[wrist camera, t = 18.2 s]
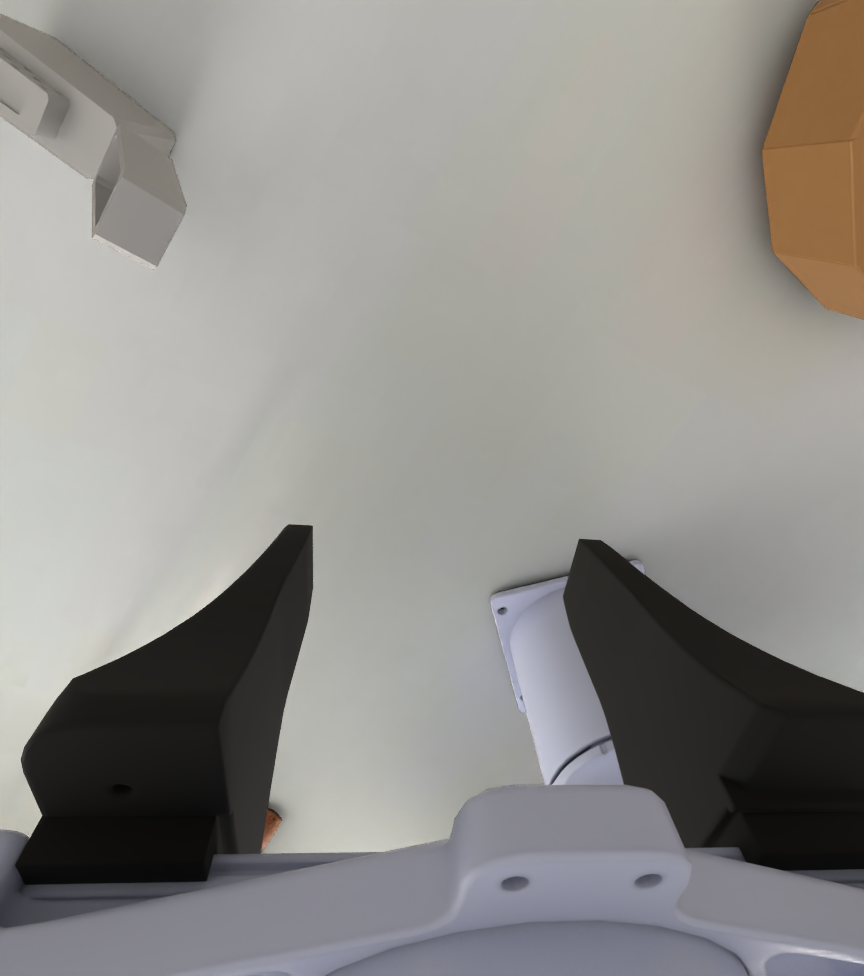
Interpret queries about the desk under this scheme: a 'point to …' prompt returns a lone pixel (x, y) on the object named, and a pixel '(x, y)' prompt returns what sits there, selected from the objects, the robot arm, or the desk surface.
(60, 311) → the desk surface
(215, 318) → the desk surface
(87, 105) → the lighter
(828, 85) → the tape roll
